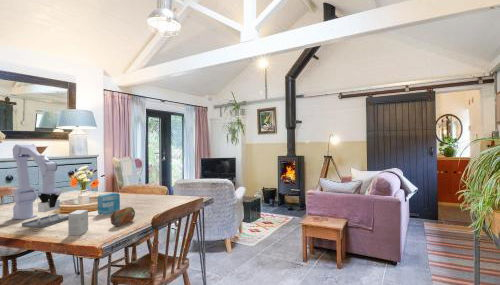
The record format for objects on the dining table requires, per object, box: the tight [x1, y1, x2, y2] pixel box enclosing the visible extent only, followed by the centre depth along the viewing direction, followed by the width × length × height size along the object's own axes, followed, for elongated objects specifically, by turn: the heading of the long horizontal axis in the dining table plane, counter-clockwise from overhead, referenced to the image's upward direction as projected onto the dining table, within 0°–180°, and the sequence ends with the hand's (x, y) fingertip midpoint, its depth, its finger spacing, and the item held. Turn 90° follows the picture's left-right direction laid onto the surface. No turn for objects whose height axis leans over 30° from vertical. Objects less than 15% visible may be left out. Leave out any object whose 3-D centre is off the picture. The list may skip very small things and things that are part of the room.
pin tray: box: [21, 213, 68, 229], centre depth 154 cm, size 13×20×3 cm, turn 166°
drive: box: [37, 199, 61, 213], centre depth 154 cm, size 4×9×5 cm, turn 166°
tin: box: [110, 206, 136, 227], centre depth 149 cm, size 15×3×8 cm, turn 160°
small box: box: [67, 209, 89, 237], centre depth 135 cm, size 8×6×10 cm
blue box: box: [97, 192, 121, 216], centre depth 173 cm, size 12×4×12 cm, turn 146°
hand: (49, 207), depth 154 cm, fingers closed on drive, 4 cm apart
